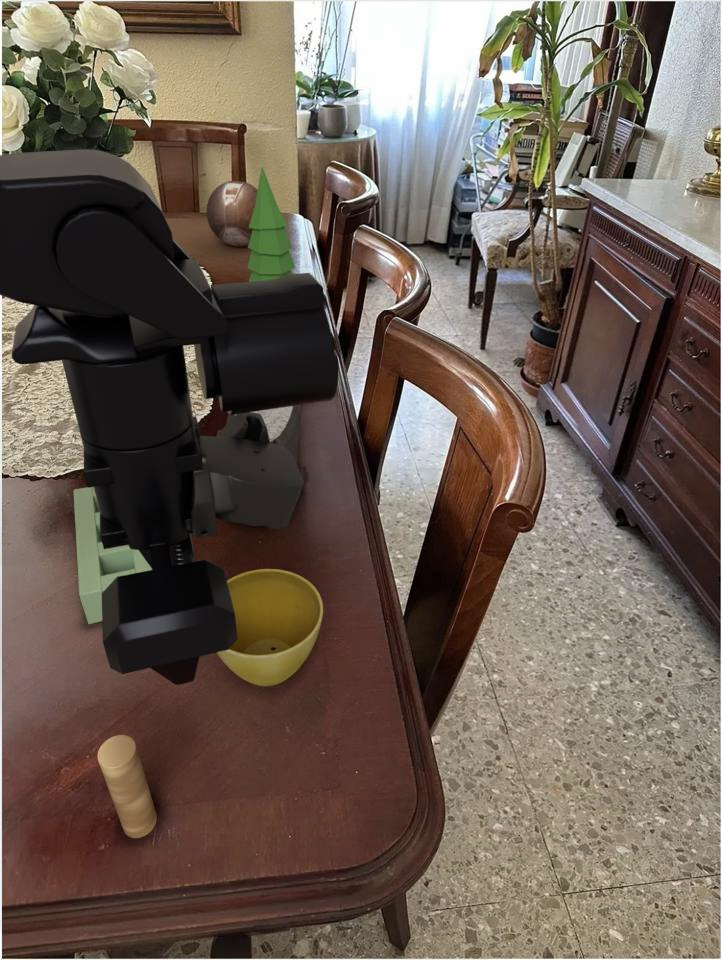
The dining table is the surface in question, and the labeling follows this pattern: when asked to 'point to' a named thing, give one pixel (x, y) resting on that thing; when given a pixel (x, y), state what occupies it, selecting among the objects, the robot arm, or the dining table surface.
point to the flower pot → (272, 625)
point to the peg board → (98, 556)
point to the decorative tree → (268, 237)
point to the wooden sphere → (232, 212)
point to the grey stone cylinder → (281, 427)
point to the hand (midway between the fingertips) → (176, 626)
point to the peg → (127, 785)
